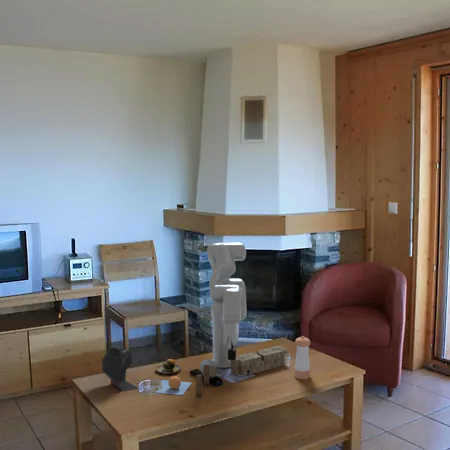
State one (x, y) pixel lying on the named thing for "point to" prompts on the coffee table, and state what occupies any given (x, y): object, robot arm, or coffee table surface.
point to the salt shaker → (302, 358)
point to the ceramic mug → (210, 368)
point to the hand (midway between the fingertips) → (231, 359)
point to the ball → (174, 382)
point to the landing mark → (168, 390)
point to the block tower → (258, 361)
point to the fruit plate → (169, 367)
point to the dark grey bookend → (118, 368)
